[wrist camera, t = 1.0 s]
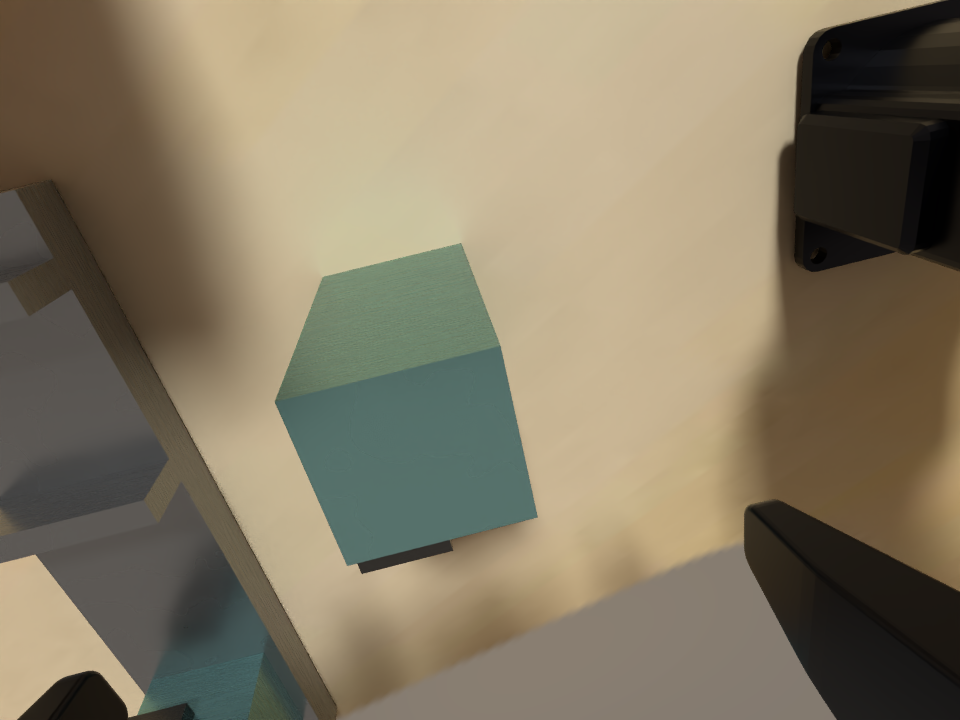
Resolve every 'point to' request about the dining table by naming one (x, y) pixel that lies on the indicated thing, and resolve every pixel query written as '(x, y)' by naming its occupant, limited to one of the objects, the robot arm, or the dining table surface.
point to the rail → (127, 492)
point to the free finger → (405, 411)
